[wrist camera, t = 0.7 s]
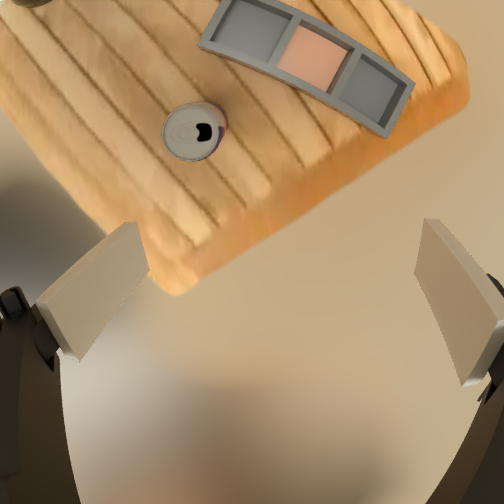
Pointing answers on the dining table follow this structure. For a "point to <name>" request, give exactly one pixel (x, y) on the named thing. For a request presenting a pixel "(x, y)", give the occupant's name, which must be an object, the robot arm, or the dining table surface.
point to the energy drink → (194, 130)
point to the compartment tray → (310, 60)
